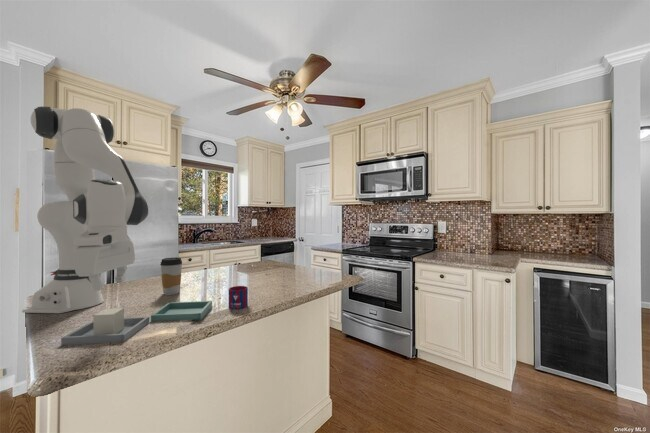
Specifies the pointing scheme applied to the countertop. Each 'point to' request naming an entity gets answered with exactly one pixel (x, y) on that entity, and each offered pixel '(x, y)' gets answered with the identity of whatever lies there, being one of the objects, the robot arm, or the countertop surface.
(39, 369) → the countertop surface
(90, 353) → the countertop surface
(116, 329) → the stone block
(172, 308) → the bin
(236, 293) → the cup
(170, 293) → the coffee cup
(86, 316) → the countertop surface
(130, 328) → the bin
